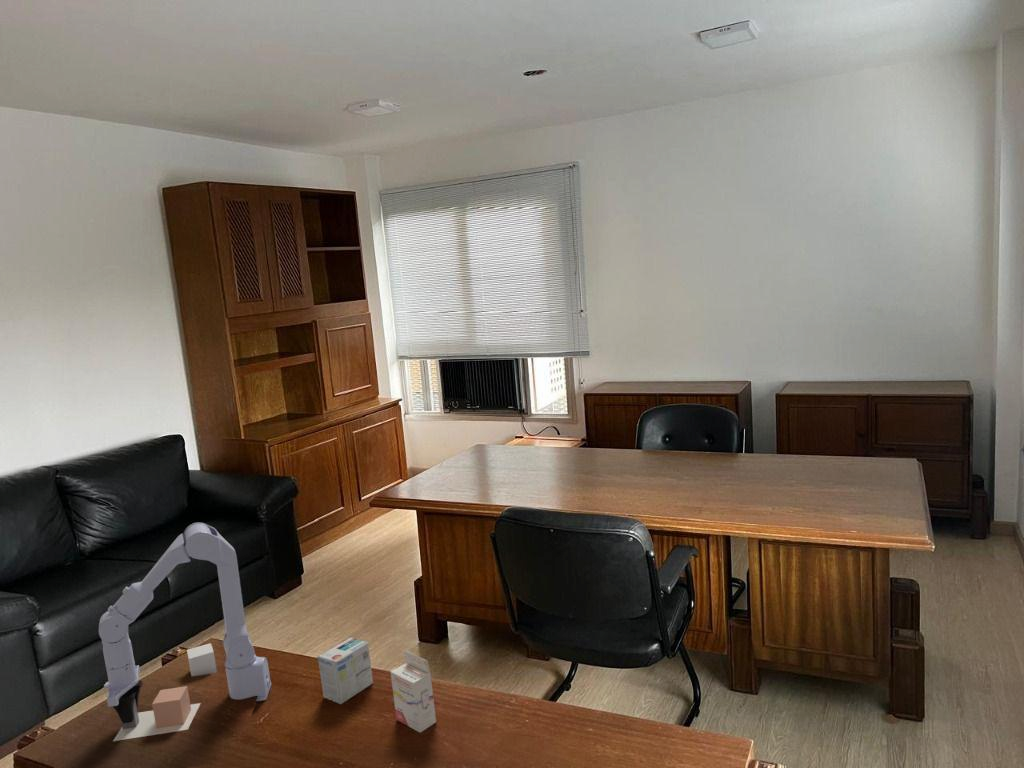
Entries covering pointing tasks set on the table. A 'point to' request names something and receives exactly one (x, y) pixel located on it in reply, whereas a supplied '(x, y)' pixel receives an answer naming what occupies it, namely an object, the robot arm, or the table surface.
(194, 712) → the white flat board
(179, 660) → the table surface
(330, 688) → the light bulb box
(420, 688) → the ink cartridge box
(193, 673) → the white block
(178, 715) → the block
